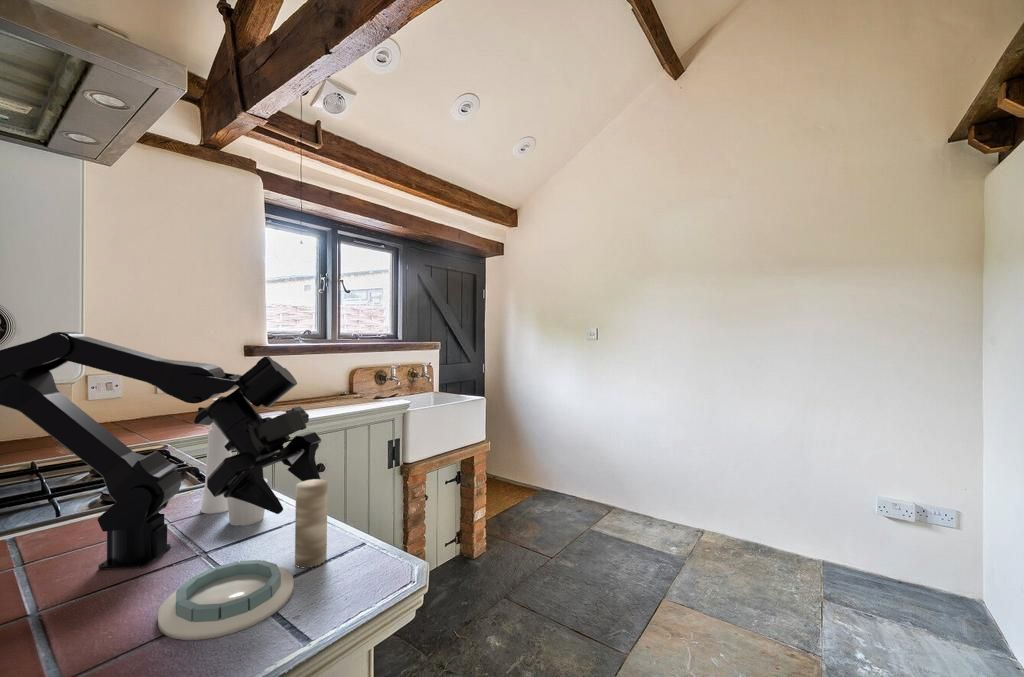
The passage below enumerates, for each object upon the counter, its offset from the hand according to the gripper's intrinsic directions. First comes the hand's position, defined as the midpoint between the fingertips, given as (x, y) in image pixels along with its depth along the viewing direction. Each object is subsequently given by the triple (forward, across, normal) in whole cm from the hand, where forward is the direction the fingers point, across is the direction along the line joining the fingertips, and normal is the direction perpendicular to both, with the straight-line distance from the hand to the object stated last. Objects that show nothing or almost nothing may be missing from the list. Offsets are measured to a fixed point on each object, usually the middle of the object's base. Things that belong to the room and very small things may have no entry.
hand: (302, 500), depth 70 cm
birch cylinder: (+8, 0, +5) cm, 9 cm away
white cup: (-8, +10, +21) cm, 24 cm away
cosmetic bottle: (-14, +13, +27) cm, 34 cm away
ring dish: (+5, -12, +8) cm, 15 cm away
